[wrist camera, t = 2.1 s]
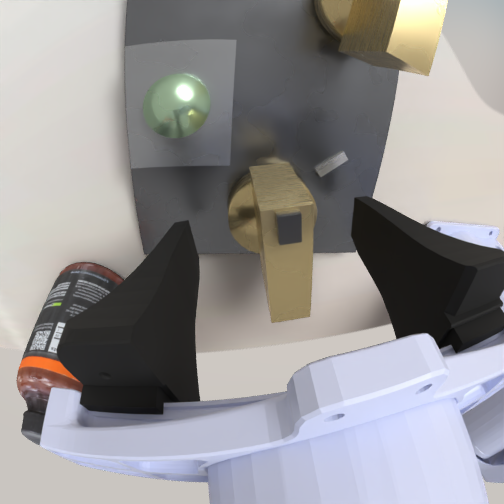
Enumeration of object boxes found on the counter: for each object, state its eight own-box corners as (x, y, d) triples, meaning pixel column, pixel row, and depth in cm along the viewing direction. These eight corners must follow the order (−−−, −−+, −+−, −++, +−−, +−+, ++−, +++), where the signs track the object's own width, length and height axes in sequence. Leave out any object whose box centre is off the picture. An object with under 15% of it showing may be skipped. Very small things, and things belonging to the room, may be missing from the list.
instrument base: (395, -20, 7) (430, -28, 5) (349, 242, 17) (368, 274, 15) (140, -49, 6) (121, -71, 4) (147, 243, 16) (137, 279, 13)
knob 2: (382, 74, 10) (459, 95, 6) (300, 41, 9) (352, 32, 5) (407, -12, 7) (483, -21, 3) (328, -50, 6) (385, -91, 2)
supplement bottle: (111, 328, 20) (87, 466, 11) (49, 288, 17) (-1, 427, 8) (153, 293, 18) (132, 466, 9) (80, 241, 15) (8, 417, 6)
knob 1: (309, 243, 15) (339, 316, 11) (235, 254, 15) (242, 333, 11) (309, 150, 12) (354, 204, 8) (219, 161, 12) (219, 222, 8)
